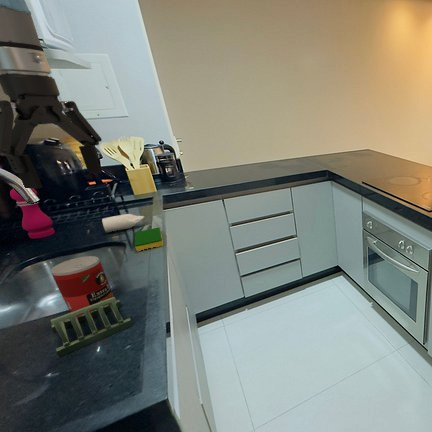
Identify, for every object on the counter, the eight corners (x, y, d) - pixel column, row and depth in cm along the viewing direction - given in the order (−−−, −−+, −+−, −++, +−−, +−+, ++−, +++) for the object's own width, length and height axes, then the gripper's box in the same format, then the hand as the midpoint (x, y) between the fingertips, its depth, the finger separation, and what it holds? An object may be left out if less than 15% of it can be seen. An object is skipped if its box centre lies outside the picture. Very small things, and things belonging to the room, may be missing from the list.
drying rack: (59, 357, 55) (42, 324, 52) (53, 330, 62) (38, 300, 59) (132, 325, 63) (121, 295, 60) (120, 304, 70) (110, 277, 67)
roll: (147, 227, 114) (142, 213, 112) (106, 234, 108) (101, 220, 106) (147, 222, 119) (143, 209, 117) (108, 229, 112) (102, 216, 110)
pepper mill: (30, 241, 103) (3, 185, 96) (26, 236, 107) (0, 183, 100) (59, 234, 109) (36, 181, 102) (54, 229, 113) (31, 178, 106)
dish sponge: (161, 232, 109) (159, 226, 108) (163, 245, 99) (161, 239, 98) (136, 238, 105) (134, 231, 104) (136, 252, 95) (134, 245, 94)
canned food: (100, 313, 67) (82, 271, 63) (59, 317, 66) (38, 274, 62) (122, 293, 74) (107, 254, 70) (86, 296, 73) (69, 257, 69)
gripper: (-41, 66, 46) (20, 195, 54) (101, 79, 70) (129, 168, 77) (-89, 67, 46) (-21, 196, 54) (69, 79, 70) (101, 168, 77)
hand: (67, 180), depth 66 cm, fingers open, 13 cm apart
